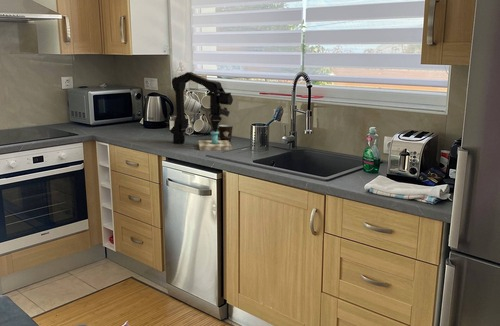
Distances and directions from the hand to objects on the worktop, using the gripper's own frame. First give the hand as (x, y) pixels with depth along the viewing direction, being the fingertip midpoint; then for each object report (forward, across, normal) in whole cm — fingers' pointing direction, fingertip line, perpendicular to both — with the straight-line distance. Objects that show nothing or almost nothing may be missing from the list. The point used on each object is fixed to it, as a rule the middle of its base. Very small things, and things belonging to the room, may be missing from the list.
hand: (214, 130), depth 291 cm
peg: (+10, 0, 0) cm, 10 cm away
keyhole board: (+10, 0, 0) cm, 10 cm away
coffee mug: (+10, +20, -7) cm, 24 cm away
